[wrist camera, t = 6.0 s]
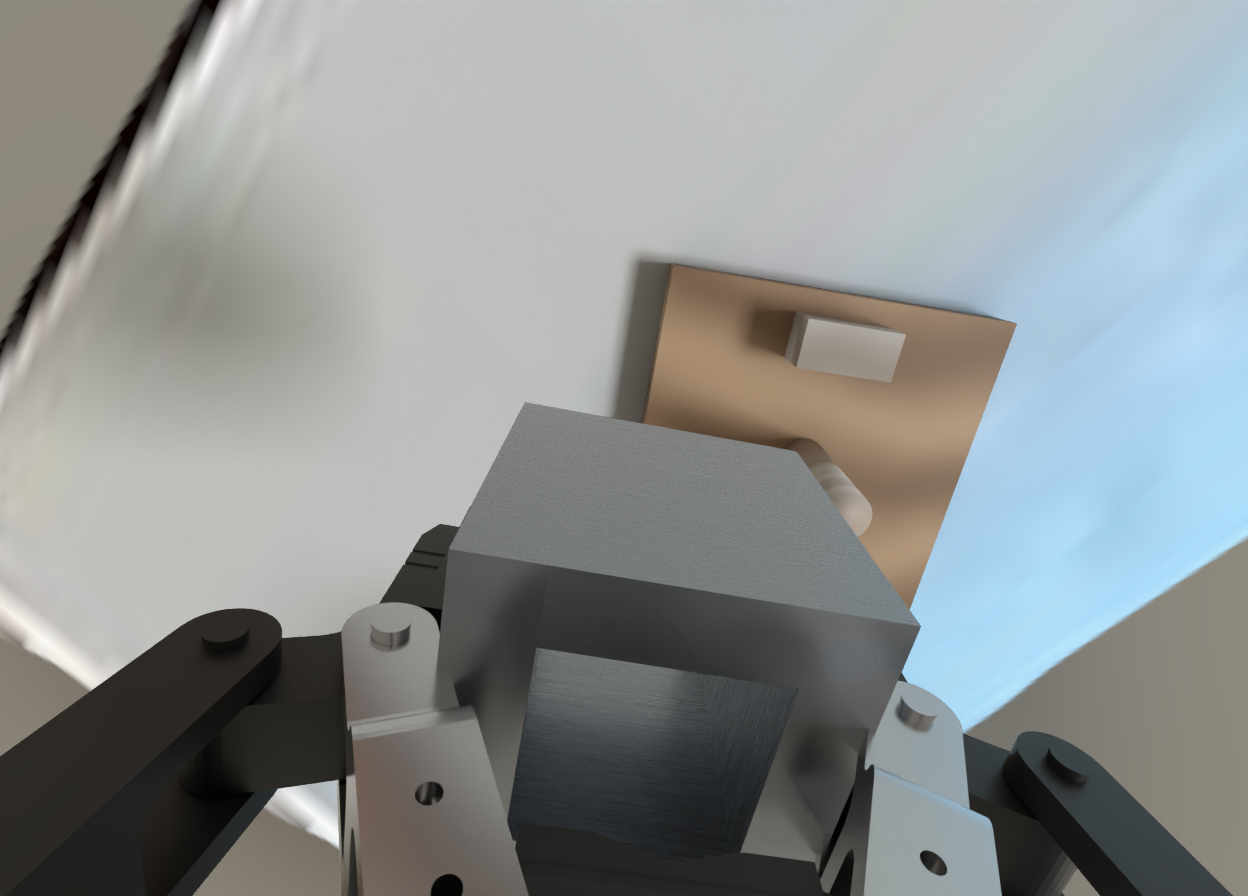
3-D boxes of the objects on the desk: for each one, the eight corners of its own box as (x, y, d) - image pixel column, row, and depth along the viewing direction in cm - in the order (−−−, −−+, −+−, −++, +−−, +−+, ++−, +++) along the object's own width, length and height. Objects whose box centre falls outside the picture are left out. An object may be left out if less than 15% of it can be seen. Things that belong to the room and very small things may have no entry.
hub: (524, 402, 13) (448, 548, 7) (796, 451, 13) (921, 626, 8) (492, 632, 15) (413, 884, 9) (729, 669, 15) (789, 933, 10)
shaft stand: (670, 263, 28) (687, 280, 21) (997, 318, 28) (1120, 352, 21) (617, 559, 33) (616, 654, 26) (895, 598, 34) (967, 700, 27)
